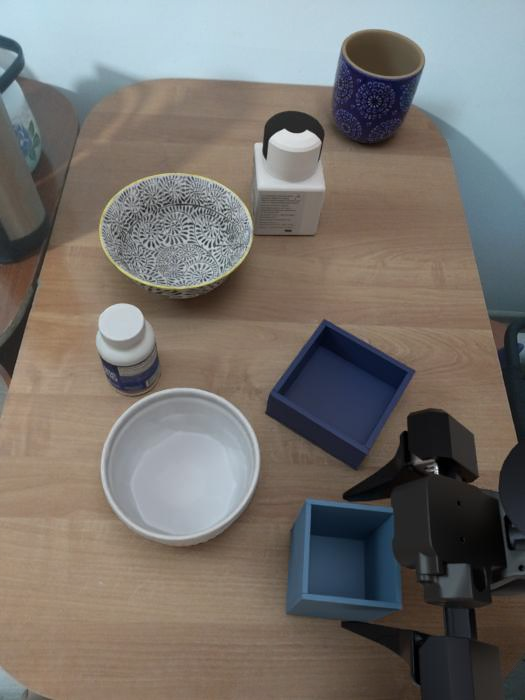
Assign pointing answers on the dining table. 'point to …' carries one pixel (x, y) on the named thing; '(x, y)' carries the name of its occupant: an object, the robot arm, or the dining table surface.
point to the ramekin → (180, 466)
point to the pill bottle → (127, 349)
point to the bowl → (176, 233)
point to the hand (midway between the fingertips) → (344, 557)
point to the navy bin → (339, 393)
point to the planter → (375, 84)
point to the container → (288, 176)
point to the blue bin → (343, 562)
